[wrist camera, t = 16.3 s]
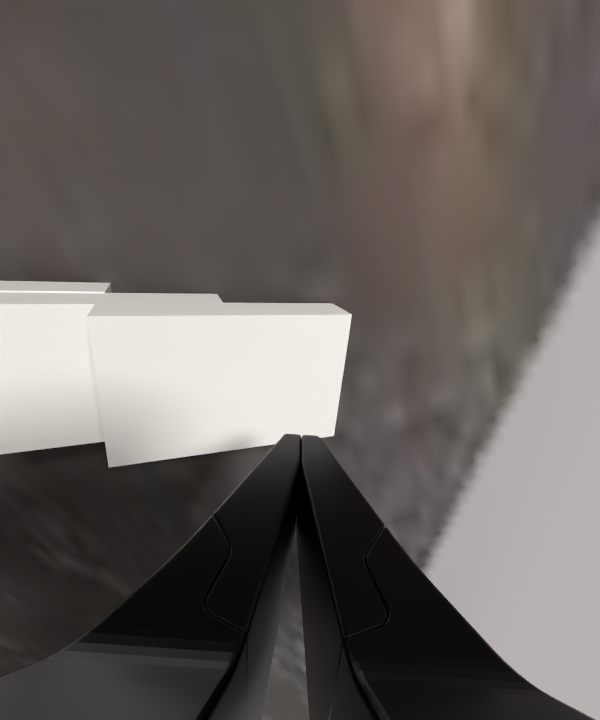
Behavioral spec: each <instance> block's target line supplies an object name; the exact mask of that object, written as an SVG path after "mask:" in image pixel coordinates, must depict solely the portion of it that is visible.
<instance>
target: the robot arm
mask: <svg viewBox="0 0 600 720" xmlns="http://www.w3.org/2000/svg"><path fill="white" fill-rule="evenodd" d="M296 516H297V522H296ZM295 527H296V530H297V547H298V562H299V576H300V590H301V604H302V618H303V632H304V646H305V660H306V675H307V689H308V703H309V717H310V720H595V719H593V718H591V717H589V716H587V715H585V714H584V713H582V712H580V711H578V710H576V709H574V708H572V707H570V706H568V705H566V704H565V703H563V702H561V701H559V700H557V699H555V698H553V697H551V696H550V695H548V694H546V693H544V692H543V691H541V690H539V689H538V688H537V687H535V686H534V685H532V684H531V683H529V682H528V681H527V680H526V679H524V678H523V677H522V676H521V675H519V674H518V673H517V672H516V671H515V670H514V669H513V668H511V667H510V666H509V665H508V664H507V663H506V662H505V661H504V660H503V659H502V658H501V657H500V656H499V655H498V654H497V653H496V652H495V651H494V650H493V649H492V648H491V647H490V646H489V644H488V643H487V642H486V641H485V640H484V639H483V638H482V637H481V636H480V635H479V634H478V633H477V631H476V630H475V629H474V628H473V627H472V626H471V625H470V624H469V623H468V622H467V621H466V620H465V618H464V617H463V616H462V615H461V614H460V613H459V612H458V611H457V610H456V609H455V608H454V606H453V605H452V604H450V602H449V601H448V600H447V599H446V598H445V597H444V596H443V595H442V593H441V592H440V591H439V590H438V589H437V588H436V587H435V586H434V585H433V584H432V582H431V581H430V580H429V579H428V578H427V577H426V576H425V574H424V573H423V572H422V571H421V570H420V569H419V568H418V567H417V565H416V564H415V563H414V562H413V561H412V559H411V558H410V557H409V556H408V554H407V553H406V552H405V551H404V549H403V548H402V547H401V546H400V544H399V543H398V542H397V541H396V539H395V538H394V537H393V535H392V534H391V533H390V531H389V530H388V528H386V527H385V525H384V523H383V522H382V521H381V519H380V518H379V517H378V515H377V514H376V513H375V511H374V510H373V509H372V507H371V506H370V505H369V503H368V502H367V501H366V499H365V498H364V497H363V495H362V494H361V493H360V491H359V490H358V489H357V487H356V486H355V485H354V483H353V482H352V480H351V479H350V478H349V476H348V475H347V474H346V472H345V471H344V470H343V468H342V467H341V466H340V464H339V463H338V462H337V460H336V459H335V458H334V456H333V455H332V454H331V452H330V451H329V450H328V448H327V447H326V446H325V444H324V443H323V442H322V440H321V439H320V438H319V437H318V436H316V435H303V436H302V438H301V436H300V435H299V434H284V435H283V436H282V438H281V439H280V440H279V441H278V442H277V443H276V444H275V445H274V446H273V448H272V449H271V450H270V451H269V452H268V453H267V454H266V455H265V456H264V458H263V459H262V460H261V461H260V462H259V463H258V464H257V465H256V466H255V468H254V469H253V470H252V471H251V472H250V473H249V474H248V475H247V476H246V478H245V479H244V480H243V481H242V482H241V483H240V484H239V485H238V487H237V488H236V489H235V490H234V491H233V492H232V493H231V494H230V495H229V497H228V498H227V499H226V500H225V501H224V502H223V503H222V504H221V505H220V507H219V508H218V509H217V510H216V511H215V512H214V513H213V516H210V517H209V518H208V520H207V521H206V522H205V523H204V524H203V525H202V526H201V527H200V529H199V530H198V531H197V532H196V533H195V534H194V535H193V536H192V537H191V538H190V539H189V540H188V541H187V542H186V543H185V544H184V545H183V546H182V547H181V548H180V549H179V550H178V551H177V552H176V553H175V554H174V555H173V556H172V557H171V558H169V559H168V560H167V561H166V562H165V563H164V564H163V565H162V566H161V567H160V568H159V569H158V570H156V571H155V572H154V573H153V574H152V575H151V576H150V577H149V578H148V579H146V580H145V581H144V582H143V583H142V584H141V585H140V586H139V587H137V588H136V589H135V590H134V591H133V592H132V593H131V594H130V595H128V596H127V597H126V598H125V599H124V600H123V601H122V602H121V603H120V604H118V605H117V606H116V607H115V608H114V609H113V610H112V611H111V612H109V613H108V614H107V615H106V616H105V617H104V618H103V619H102V620H100V621H99V622H98V623H97V624H96V625H95V626H93V627H92V628H91V629H90V630H89V631H87V632H86V633H85V634H84V635H82V636H81V637H80V638H78V639H77V640H75V641H74V642H73V643H71V644H70V645H68V646H67V647H65V648H63V649H62V650H60V651H59V652H57V653H55V654H53V655H51V656H49V657H47V658H45V659H43V660H41V661H38V662H36V663H33V664H31V665H28V666H26V667H23V668H21V669H18V670H16V671H13V672H11V673H8V674H6V675H3V676H0V720H261V717H262V711H263V706H264V700H265V695H266V689H267V684H268V678H269V673H270V667H271V662H272V656H273V650H274V645H275V639H276V634H277V628H278V623H279V617H280V612H281V606H282V601H283V595H284V590H285V584H286V579H287V573H288V568H289V562H290V557H291V551H292V546H293V540H294V534H295Z"/></svg>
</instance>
